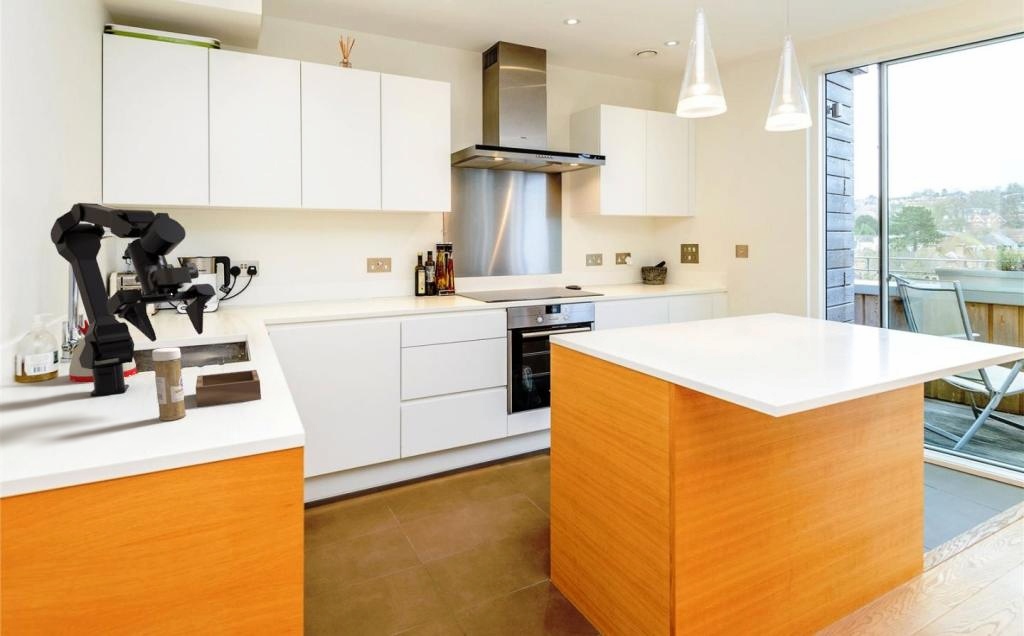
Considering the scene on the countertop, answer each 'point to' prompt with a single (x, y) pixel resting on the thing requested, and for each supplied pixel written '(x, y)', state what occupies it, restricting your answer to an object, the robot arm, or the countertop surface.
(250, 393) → the walnut crate
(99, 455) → the countertop surface
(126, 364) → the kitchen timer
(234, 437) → the countertop surface
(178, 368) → the sprinkles bottle
